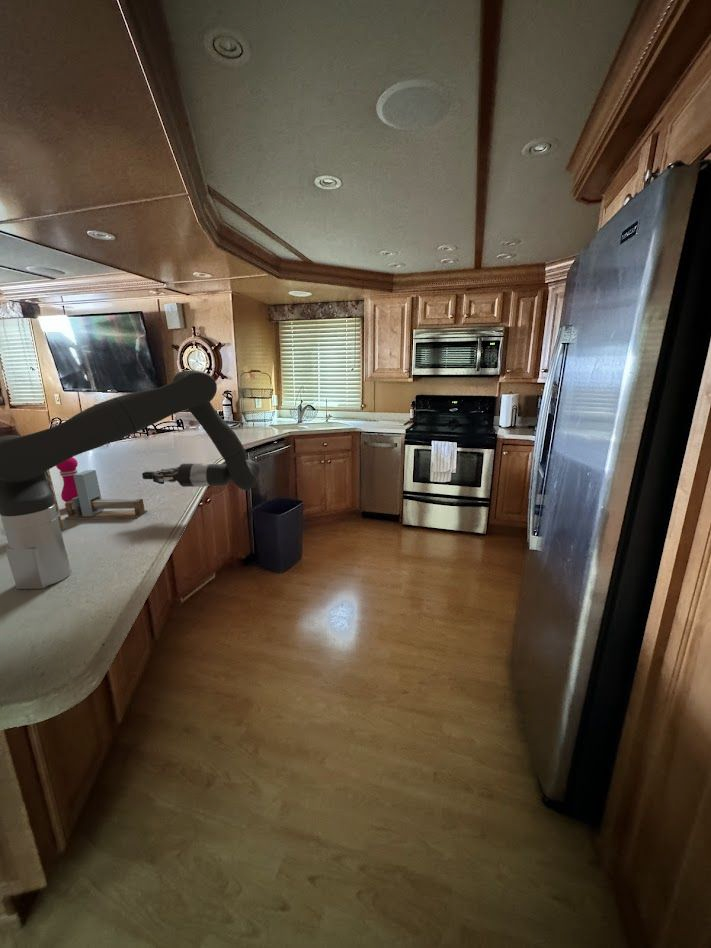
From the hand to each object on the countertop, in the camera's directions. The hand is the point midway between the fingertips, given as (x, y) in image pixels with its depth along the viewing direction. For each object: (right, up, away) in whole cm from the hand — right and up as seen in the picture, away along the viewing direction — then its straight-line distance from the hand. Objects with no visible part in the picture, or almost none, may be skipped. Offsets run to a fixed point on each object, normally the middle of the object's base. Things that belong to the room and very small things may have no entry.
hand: (143, 475), depth 122 cm
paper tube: (-25, -17, -7) cm, 31 cm away
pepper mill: (-31, -12, +13) cm, 36 cm away
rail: (-15, -13, +4) cm, 20 cm away
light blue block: (-19, -13, +4) cm, 24 cm away
